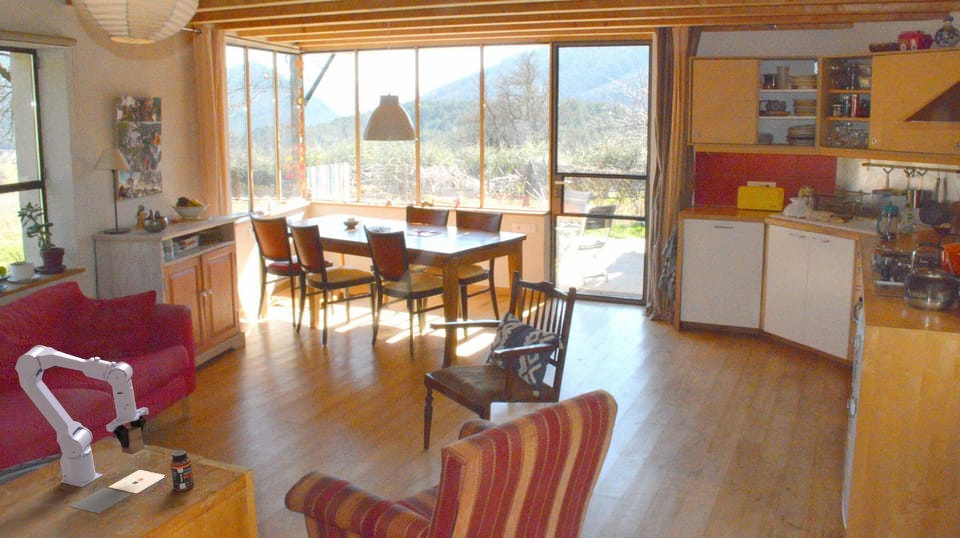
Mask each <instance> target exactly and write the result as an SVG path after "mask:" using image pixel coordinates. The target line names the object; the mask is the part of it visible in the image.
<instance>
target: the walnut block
mask: <svg viewBox="0 0 960 538" xmlns="http://www.w3.org/2000/svg"><path fill="white" fill-rule="evenodd" d="M125 428H129V430H128V442H129V448H122V445H121V444H120V447H121V452H122V453H123V454H124V453H125V454H129V455H134V454H137V453H138V452H140V451H142V450H144V449H145V444H144V439H143V433H142V432H141V427H136V426H131V424H130V425H128V426H125Z"/></svg>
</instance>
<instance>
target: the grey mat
mask: <svg viewBox="0 0 960 538" xmlns="http://www.w3.org/2000/svg"><path fill="white" fill-rule="evenodd" d="M130 496H132V493H128V492H126V491H125V492H124V491H122V490H121V491H119V490H117V489H113V488H112V489H111V488H106V487H101V488H100V489H98V490H96V491H94V492H93V493H91V494H89V495H88V496H86V497H84V498H82V499H80V500H78V501H76V502H75V503H73V504H71V505H70V506H69V507H70V508H74V509H78V510H83V511H85V512H89V513H93V514H97V515H99V514H100V513H103V512H104V511H106V510H108V509H110V508H111V507H113V506H114V505H116V504H117V503H120V502H121V501H123V500H125V499H126V498H128V497H130Z"/></svg>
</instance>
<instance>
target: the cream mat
mask: <svg viewBox="0 0 960 538" xmlns="http://www.w3.org/2000/svg"><path fill="white" fill-rule="evenodd" d="M165 475H166V474H163V473H157V472H153V471H147V470H143V469H138V470H136V471H135V472H133V473H131V474H130V475H127V476H125V477H123V478H121V479H120V480H118V481H117V482H115V483H113V484H111V485H109V486H108V488H110V489H111V488H112V489H114V490H121V491H123V492H124V491H125V492H130V493H133V494H134V493H135V494H138V493H141V492H142V491H143V490H145V489H147V488H149V487H150V486H152V485H154V484H155V483H157V482H159V481H161V480H162V479H163V478H164V479H165V477H164V476H165Z"/></svg>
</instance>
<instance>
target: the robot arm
mask: <svg viewBox="0 0 960 538" xmlns="http://www.w3.org/2000/svg"><path fill="white" fill-rule="evenodd" d="M55 366H56V367H60V368H65V369H71V370H77V371H81V372H82V373H83V375H85V377H87V378H93V379H97V380H99V381H104V382H108V384H109V385H110V386H111V388H112V396H113V400H114V407H115V412H116V413H115V414H116V418H114V419H113V420H112V421H111V422H109V423H108V424H106V425H105V427H106V431H107V432H110V433H113V434H114V435H115V436H116V439H118V441H119V442H120V446H121V445H122V448H129V442H128V430H129V428H126V426H125V425H127V424H128V423H129V424H130V425H131V426H136V427H141V432H142V434H143V432H144V429H145V428H144V427H145V425H146V422H147V418H146V417H144V415H145V416H146V415H149V413H150V412H149V407H141V408H138V409H137V404H136V400H135V398H136V397H135V392H134V387H133V382H132V376H133V374H134V370H133V367H132V365H130V364H129V363H127V362H125V361H120V362H116V361H112V362H110V361H107V360H102V359H101V357H98V356H96V357H90V358H89V359H83V358H80V357H77V356H74V355H71V354H67V353H65V352H62V351H58V350H57V349H54V348H53V347H50V346H44V345H40V344H39V345H35V346H33V347H32V348H30V350H28V351H27V352H25V353H24V354H22V355H20V357H18V359H17V362H16V363H15V367H14V369H15V370H16V372H17V374H18V375H17V376H18V380H19V385H20V388H22V390H23V391H24V392H25V394H26V395H27V396H28V397H29V399H30V400H31V402H32V403H33V404H34V405H35V406H36V408H37V409H38V410H39V412H40V413H41V414H42V415H43V417H44V418H45V419H46V421H47V422H48V423H49V425H51V427H52V428H53V429H54V430H55V433H56V442H57V444H59V447H60V452H61V453H62V455H61V458H60V460H59V461H60V462H59V463H60V469H61V475H62V480H61V481H60V482H61V483H62V484H67V485H70V486H76V487H79V488H80V487H81V488H83V487H85V486H86V485H89V484H90V483H93V482H94V481H95V480H98V479H100V478H101V477H103V474H102V473H99V472H96V469H95V468H96V467H95V464H94V463H95V462H94V456H93V451H92V447H91V443H92V441H93V433H92V432H91V431H90V429H88V428H87V427H85V426H83V425H82V423H81V422H79V421H76V420H75V421H74V420H73V419H72V417H71V416H70V415H69V413H68V412H67V411H66V410H65V408H64V407H63V406H62V405H61V403H60V402H59V401H58V399H57V398H56V397H55V396H54V394H53V393H52V392H51V390H49V387H48V386H47V385H46V383H44V381H43V380H42V379H43V374H44V371H45V370H47V369H50V368H53V367H55ZM122 448H121V449H122Z"/></svg>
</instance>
